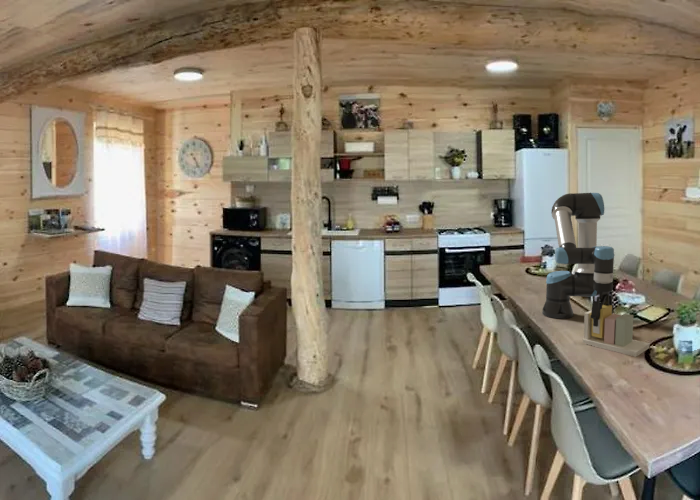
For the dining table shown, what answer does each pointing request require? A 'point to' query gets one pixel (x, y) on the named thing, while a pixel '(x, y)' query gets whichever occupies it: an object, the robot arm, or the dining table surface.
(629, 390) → the dining table surface
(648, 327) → the dining table surface
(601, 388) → the dining table surface
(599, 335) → the book
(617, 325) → the block stand tray
